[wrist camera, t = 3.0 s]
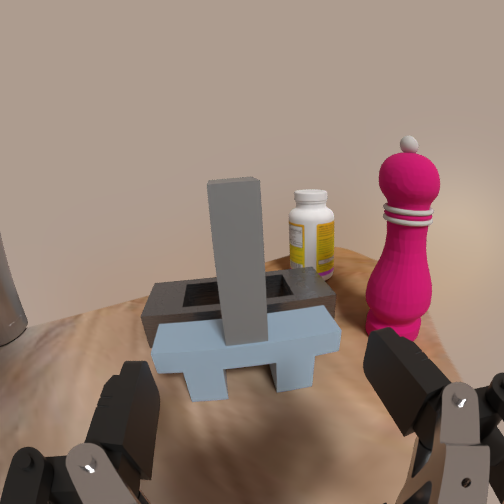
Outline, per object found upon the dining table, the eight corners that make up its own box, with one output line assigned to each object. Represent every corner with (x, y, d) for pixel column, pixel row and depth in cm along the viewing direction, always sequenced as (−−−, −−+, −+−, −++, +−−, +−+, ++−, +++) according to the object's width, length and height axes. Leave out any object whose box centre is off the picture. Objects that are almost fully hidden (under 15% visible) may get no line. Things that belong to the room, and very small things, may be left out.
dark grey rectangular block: (150, 347, 27) (140, 316, 26) (161, 310, 35) (154, 283, 33) (333, 326, 29) (336, 294, 28) (311, 294, 37) (312, 266, 35)
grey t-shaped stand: (169, 402, 20) (114, 197, 14) (173, 371, 24) (133, 190, 18) (334, 381, 21) (349, 177, 16) (319, 353, 25) (325, 173, 20)
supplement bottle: (334, 268, 44) (335, 188, 40) (331, 285, 38) (333, 194, 34) (294, 265, 46) (292, 188, 42) (285, 282, 41) (283, 194, 36)
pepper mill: (348, 324, 29) (355, 133, 22) (392, 307, 31) (403, 139, 25) (390, 359, 22) (415, 130, 16) (433, 333, 25) (458, 141, 18)
